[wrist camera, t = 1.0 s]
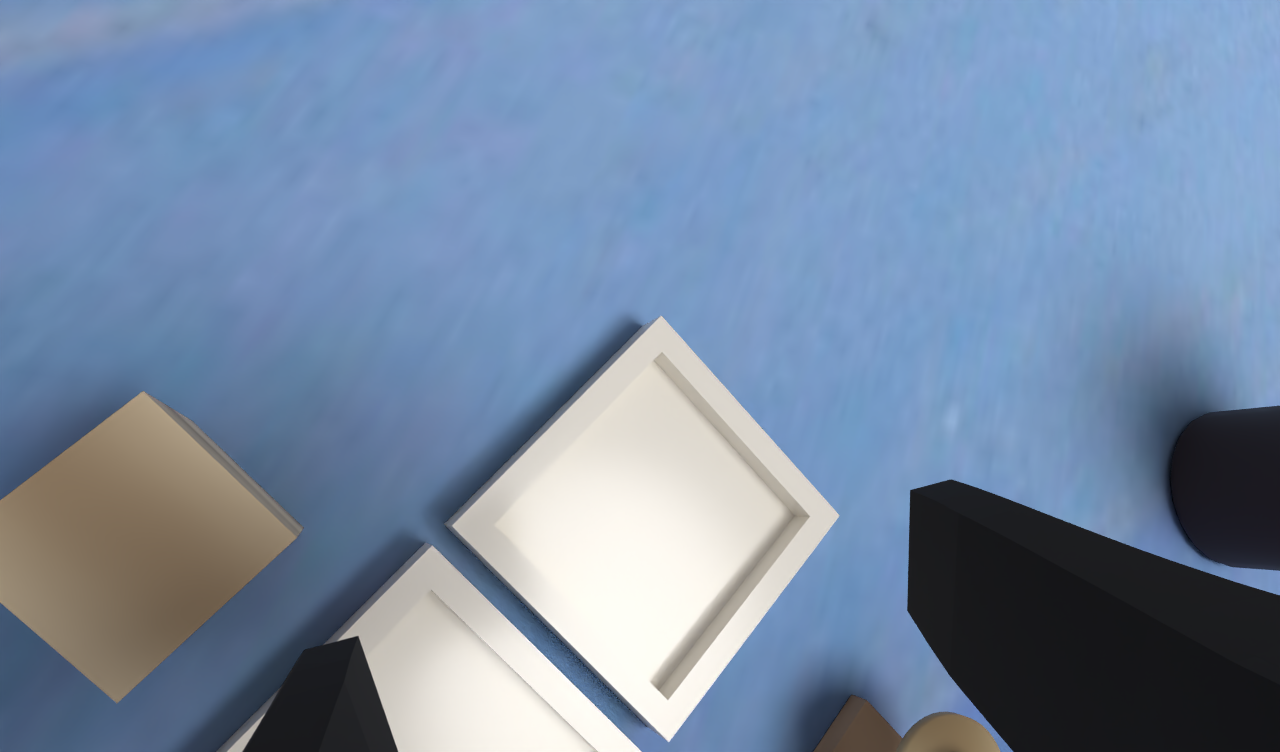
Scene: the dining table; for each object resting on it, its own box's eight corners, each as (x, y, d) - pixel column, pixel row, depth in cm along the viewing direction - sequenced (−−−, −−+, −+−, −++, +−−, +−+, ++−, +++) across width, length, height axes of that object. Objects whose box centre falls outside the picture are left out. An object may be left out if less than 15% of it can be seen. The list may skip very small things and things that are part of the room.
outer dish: (648, 727, 24) (669, 742, 22) (443, 523, 22) (451, 525, 21) (813, 514, 27) (839, 515, 26) (643, 325, 26) (661, 315, 24)
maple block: (174, 646, 20) (117, 703, 14) (49, 534, 19) (-63, 548, 13) (303, 527, 21) (297, 537, 16) (191, 420, 20) (143, 391, 15)
